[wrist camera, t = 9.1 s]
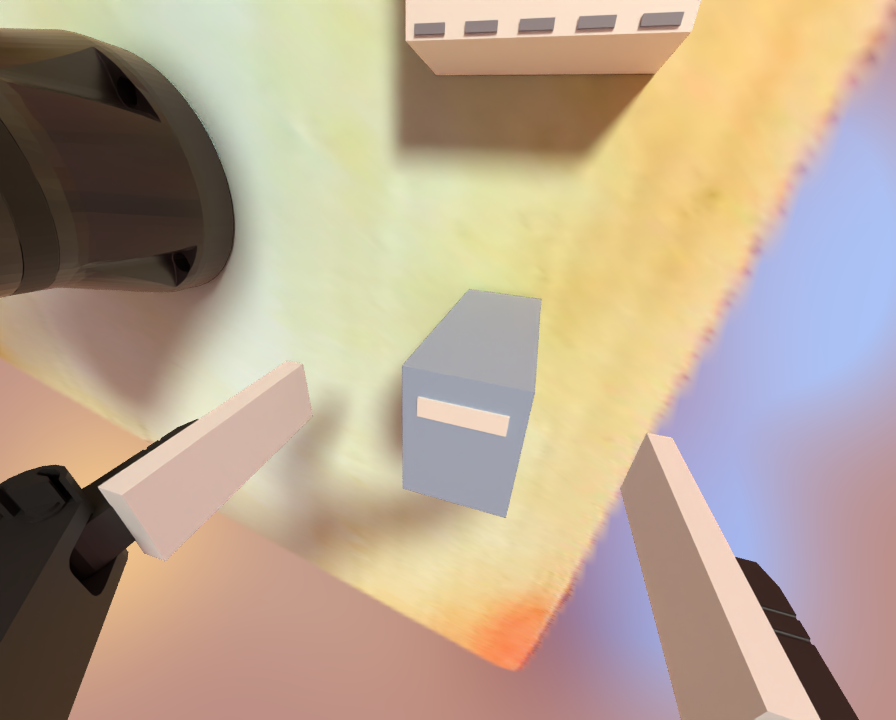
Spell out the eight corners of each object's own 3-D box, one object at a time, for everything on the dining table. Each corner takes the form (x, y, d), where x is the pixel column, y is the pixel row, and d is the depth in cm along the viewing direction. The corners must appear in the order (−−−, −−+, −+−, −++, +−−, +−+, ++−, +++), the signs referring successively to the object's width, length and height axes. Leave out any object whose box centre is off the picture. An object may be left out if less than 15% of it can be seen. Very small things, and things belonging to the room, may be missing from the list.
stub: (461, 372, 23) (401, 490, 13) (469, 289, 20) (401, 366, 11) (523, 384, 22) (505, 520, 12) (541, 299, 19) (534, 393, 10)
